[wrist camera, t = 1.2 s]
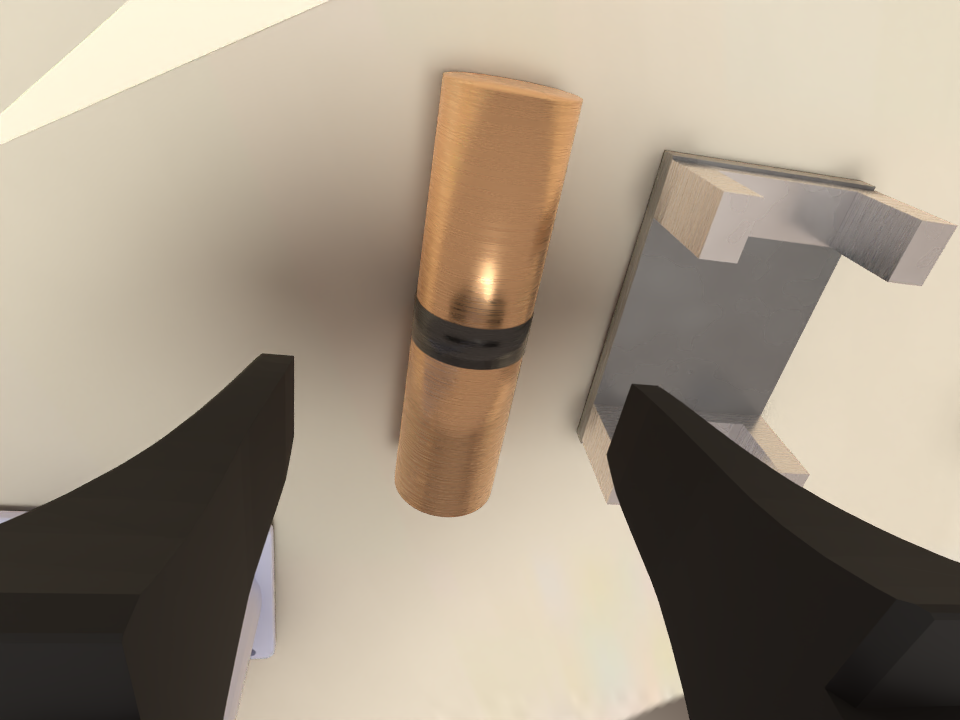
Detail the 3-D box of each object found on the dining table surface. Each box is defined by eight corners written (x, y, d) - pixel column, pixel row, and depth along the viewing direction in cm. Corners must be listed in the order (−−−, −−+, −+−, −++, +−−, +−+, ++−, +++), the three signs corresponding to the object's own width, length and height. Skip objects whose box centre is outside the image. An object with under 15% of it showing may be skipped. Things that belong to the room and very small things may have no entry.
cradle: (577, 432, 21) (606, 506, 18) (665, 150, 16) (725, 187, 13) (734, 442, 22) (786, 513, 19) (861, 181, 17) (959, 221, 14)
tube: (463, 440, 21) (510, 501, 19) (378, 460, 20) (419, 529, 18) (531, 80, 15) (612, 107, 13) (418, 66, 14) (488, 94, 11)
